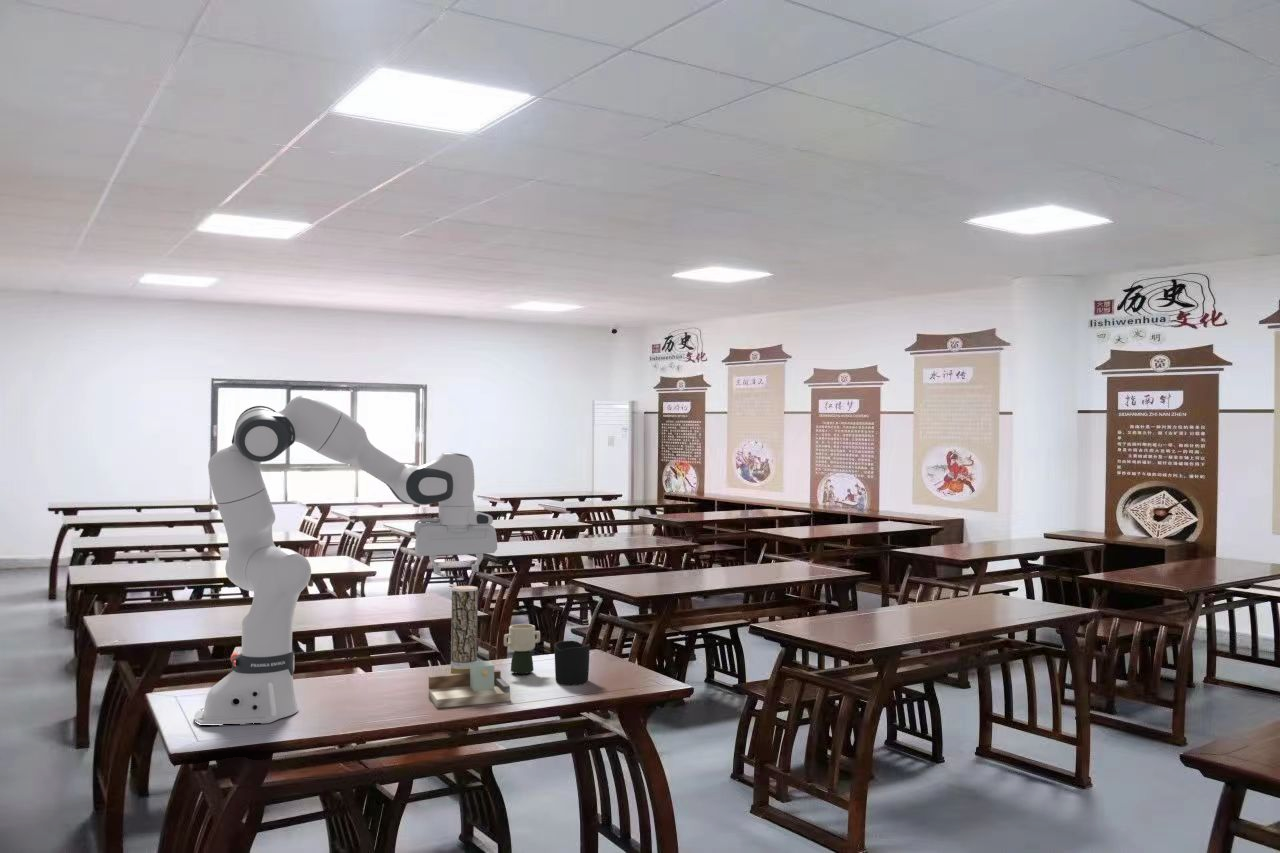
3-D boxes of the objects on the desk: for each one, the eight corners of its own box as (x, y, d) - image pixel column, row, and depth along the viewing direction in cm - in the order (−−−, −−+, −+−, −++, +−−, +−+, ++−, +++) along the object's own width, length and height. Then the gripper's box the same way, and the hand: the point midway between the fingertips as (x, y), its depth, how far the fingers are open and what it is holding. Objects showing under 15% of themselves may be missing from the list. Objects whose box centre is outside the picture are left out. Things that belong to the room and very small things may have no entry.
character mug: (534, 668, 273) (534, 622, 273) (545, 673, 267) (545, 626, 267) (498, 673, 267) (498, 625, 267) (508, 678, 261) (508, 630, 261)
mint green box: (475, 692, 238) (475, 668, 238) (470, 686, 244) (470, 662, 244) (495, 690, 240) (495, 666, 240) (489, 684, 246) (489, 661, 246)
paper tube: (464, 686, 252) (465, 590, 253) (445, 682, 256) (446, 588, 256) (481, 681, 258) (483, 587, 258) (462, 677, 262) (464, 585, 262)
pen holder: (588, 677, 263) (588, 640, 263) (591, 685, 253) (591, 647, 254) (553, 678, 262) (553, 641, 262) (555, 686, 252) (555, 648, 252)
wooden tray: (436, 708, 231) (436, 687, 232) (428, 695, 243) (428, 675, 243) (510, 700, 238) (510, 680, 238) (499, 689, 249) (499, 669, 249)
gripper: (416, 519, 235) (416, 576, 235) (499, 517, 243) (498, 572, 242) (412, 517, 241) (412, 573, 241) (493, 515, 249) (493, 569, 248)
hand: (456, 572), depth 242 cm, fingers open, 8 cm apart
